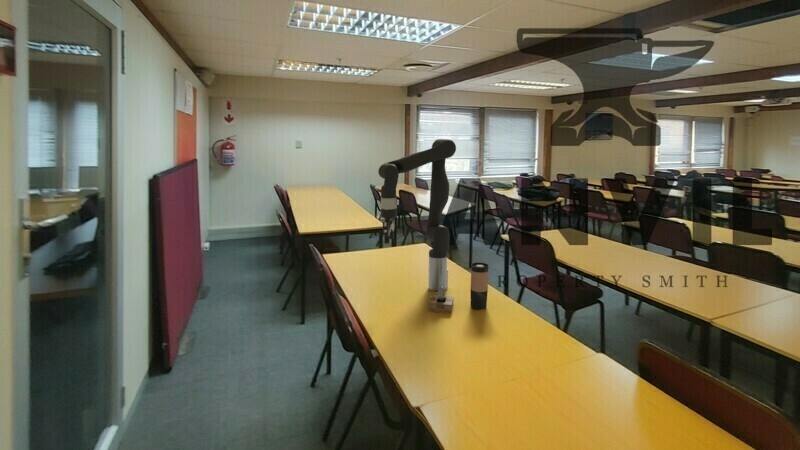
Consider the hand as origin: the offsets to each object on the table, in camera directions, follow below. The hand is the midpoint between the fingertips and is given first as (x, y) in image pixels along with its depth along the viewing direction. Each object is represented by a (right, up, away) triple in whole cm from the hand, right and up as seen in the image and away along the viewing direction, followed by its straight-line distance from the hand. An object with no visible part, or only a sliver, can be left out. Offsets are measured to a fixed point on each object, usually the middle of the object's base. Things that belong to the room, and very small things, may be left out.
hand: (389, 241), depth 194 cm
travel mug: (+41, -30, -6) cm, 51 cm away
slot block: (+24, -30, -7) cm, 39 cm away
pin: (+24, -30, -7) cm, 39 cm away
